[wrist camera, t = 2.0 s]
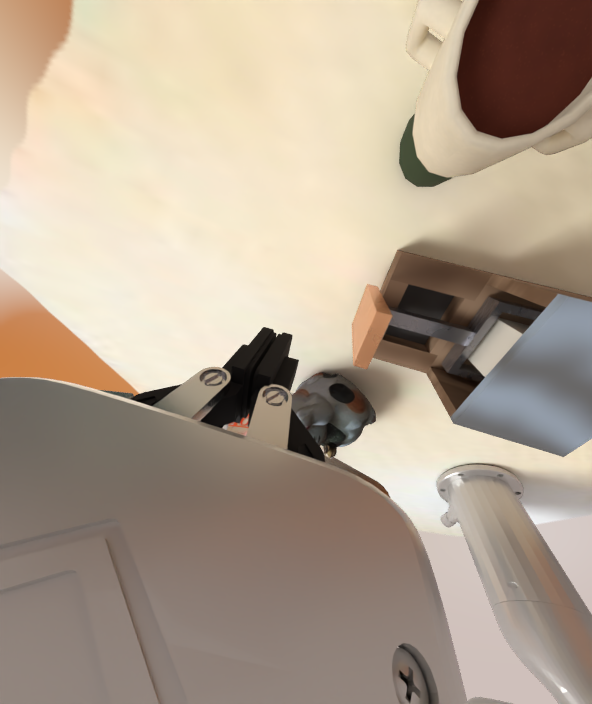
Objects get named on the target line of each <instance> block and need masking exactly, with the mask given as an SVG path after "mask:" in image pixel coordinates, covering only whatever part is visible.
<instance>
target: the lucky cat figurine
mask: <svg viewBox="0 0 592 704" xmlns="http://www.w3.org/2000/svg"><path fill="white" fill-rule="evenodd" d="M291 408H292V409H293V411H294V412H295V413H296V415H297V416H298V418H299V419H300V420H301V422H302V423H303V424H304V426H305V427H306V428H307V430H308V431H309V433H310V434H311V435H312V437H313V438H314V439H315V441H316V442H317V444H318V445H319V446H320V445H322V446H324V454H325V456H327V457H329V458H331V457H333V456H335V455H336V447H343V446H347V445H349V444H351V443H352V442H354V441H355V440H357V438H358V437H359V436H360V435H361V433H362V430H363V428H364V427H365V425H368V424H372V423H374V422H375V421H376V415H375V411H374V409H373V407H372V405H371V404H370V402H369V401H368V400H367V398H366V397H365V396H364V395H363V393H362V392H361V391H360V390H359V389H358V388H357V387H356V386H355V385H354V384H353V383H351V382H350V381H348V380H347V379H345V378H344V377H342V376H341V375H339V374H334V375H328V374H326V373H319V374H315V375H313V376H312V377H311V378H309V379H308V380H306V381H304V382H303V383H302V384H301V385H300V386H299V387H298V388H297V390H296V393H294V394H293V395H292V404H291Z"/></svg>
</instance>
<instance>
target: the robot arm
mask: <svg viewBox="0 0 592 704" xmlns="http://www.w3.org/2000/svg"><path fill="white" fill-rule="evenodd" d="M291 341H292V335H291V334H287V333H282V335H281V334H278V336H277V337H276V333H274V330H273V329H269V328H266V327H263V328H262V330H261V331H260V332H259V333H258V334H257V336H256V337H255V338H254V339H253V340H252V342H251V343H250V344H249V345H242V346H241V347H240V348H239V349H238V351H237V352H236V353H235V354H234V355H233V356H232V357H231V359H230V360H229V361H228V362H227V363H226V364H225V365H224V366H223V368H220V367H209V368H205V369H203V370H201V371H199V372H198V373H197V374H195V375H194V376H193V377H191V378H190V379H189V380H187V381H186V382H185V383H183V384H181V385H177V386H172V387H167V388H163V389H158V390H154V391H149V392H144V393H141V394H138V395H136V396H133V394H132V393H122V392H113V391H103V390H96V389H93V388H90V387H86V386H81V385H78V384H74V383H70V382H65V381H59V380H53V379H45V378H35V377H7V378H0V704H512V703H508V702H503V701H499V700H494V699H488V698H482V697H475V698H472V699H470V700H468V701H467V699H466V694H465V690H464V686H463V682H462V678H461V673H460V669H459V665H458V661H457V658H456V654H455V650H454V646H453V643H452V638H451V634H450V630H449V626H448V622H447V618H446V614H445V611H444V607H443V603H442V600H441V597H440V593H439V590H438V586H437V583H436V579H435V576H434V573H433V570H432V567H431V564H430V560H429V558H428V555H427V553H426V549H425V547H424V544H423V542H422V540H421V537H420V535H419V533H418V531H417V529H416V528H415V526H414V524H413V523H412V521H411V520H410V518H409V517H408V516H407V514H406V513H405V512H404V511H403V510H402V509H401V508H400V507H399V506H398V505H397V504H396V503H395V502H394V501H393V500H392V499H391V498H390V496H389V494H388V492H387V491H386V489H385V488H384V487H383V486H382V485H381V484H380V483H378V482H377V481H375V480H373V479H372V478H370V477H368V476H366V475H365V474H363V473H361V472H359V471H357V470H356V469H354V468H352V467H350V466H348V465H347V464H345V463H343V462H341V461H339V460H338V459H336V458H334V457H332V458H331V459H330V458H329V457H327V456H325V455H324V453H323V451H322V449H321V448H320V446H319V445H318V444H317V442H316V441H315V439H314V438H313V437H312V435H311V434H310V433H309V431H308V430H307V428H306V427H305V426H304V424H303V423H302V422H301V420H300V419H299V418H298V416H297V415H296V413H295V412H294V411H293V409H292V408H291V404H292V395H291V393H290V390H291V387H292V384H293V380H294V377H295V374H296V370H297V366H298V362H299V360H296V359H293V358H289V357H288V354H289V350H290V345H291ZM248 414H249V419H248V427H249V428H248V432H247V435H246V436H244V435H241V434H238V433H235V432H231V431H228V430H227V428H228V425H229V424H230V423H233V422H236V423H239V424H240V422H241V420H242V418H247V416H248ZM436 486H437V490H438V493H439V495H440V496H441V497H442V498H443V499H444V500H445V501H446V502H448V503H449V506H450V507H449V508H448V512H446V513H445V514H443V515H442V516H441V518H440V519H441V521H442V523H443V524H444V525H445V526H446V527H451V526H453V525H454V524H456V522H459V523H460V526H461V529H462V531H463V534H464V537H465V539H466V542H467V544H468V547H469V550H470V552H471V555H472V558H473V560H474V563H475V566H476V568H477V571H478V573H479V576H480V579H481V581H482V584H483V587H484V589H485V592H486V595H487V597H488V600H489V603H490V605H491V608H492V610H493V613H494V616H495V618H496V621H497V623H498V625H499V628H500V630H501V632H502V634H503V636H504V638H505V639H506V641H507V643H508V644H509V646H510V648H511V649H512V650H513V652H514V653H515V654H516V656H517V657H518V658H519V659H520V660H521V662H522V663H523V664H524V665H525V666H526V667H527V668H528V669H529V671H530V672H531V673H532V674H533V675H534V676H535V677H536V678H537V679H538V680H539V681H540V682H541V683H542V684H543V685H544V686H545V687H546V688H547V690H548V691H549V692H550V693H551V694H552V695H553V697H554V698H555V699H556V701H557V702H558V704H592V614H591V613H590V611H589V610H588V608H587V606H586V605H585V603H584V602H583V600H582V599H581V597H580V595H579V594H578V592H577V591H576V589H575V588H574V586H573V585H572V583H571V581H570V580H569V578H568V576H567V575H566V573H565V572H564V570H563V569H562V567H561V565H560V564H559V562H558V561H557V559H556V558H555V556H554V554H553V553H552V551H551V550H550V548H549V546H548V545H547V543H546V542H545V540H544V539H543V537H542V536H541V534H540V532H539V531H538V529H537V528H536V526H535V524H534V523H533V521H532V520H531V518H530V516H529V515H528V513H527V512H526V510H525V509H524V507H523V505H522V504H521V502H520V501H519V499H520V498H521V497H522V495H523V486H522V484H521V483H520V481H519V480H518V479H517V477H516V476H515V475H513V474H512V473H511V472H509V471H507V470H505V469H502V468H499V467H495V466H490V465H477V464H473V465H464V466H459V467H456V468H453V469H450V470H448V471H446V472H445V473H443V474H442V475H441V476H440V477H439V478H438V480H437V484H436ZM397 647H399V648H397Z"/></svg>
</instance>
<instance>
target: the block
mask: <svg viewBox="0 0 592 704" xmlns="http://www.w3.org/2000/svg"><path fill="white" fill-rule="evenodd" d="M529 327H530V326H528V325H525V324H521V323H517V322H513V321H509V320H505V319H501V318H498V319H497V320H496V321H495V323H494V324H493V325H492V327H491V328H490V329H489V330H488V332H487V333H486V334H485V336H484V337H483V338H482V340H481V341H480V342H479V343H478V345H477V346H476V347H475V349H474V350H473V351H472V353H471V354H470V355H469V356H468V358H467V359H468V360H469V361H470V362H471V363H472V364H473V365H474V366H475V367H476V368H477V369H478V370H479V371H480V372H481V374H482V375H483V376H484V377H486V376H487V375H488V374H489V372H490V371H491V370H492V369H493V368H494V367H495V366H496V364H497V363H498V362H499V361H500V360H501V359H502V358H503V356H504V355H505V354H506V353H507V352H508V351H509V350H510V348H511V347H512V346H513V345H514V344H515V343H516V342H517V340H518V339H519V338H520V337H521V336H522V335H523V334H524V332H525V331H526V330H527V329H528V328H529Z"/></svg>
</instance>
